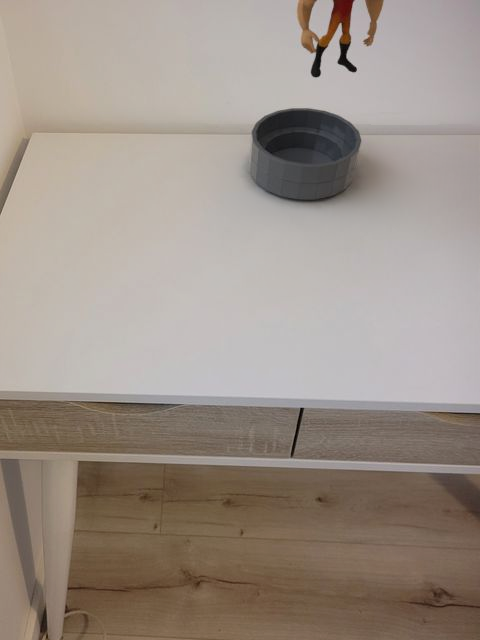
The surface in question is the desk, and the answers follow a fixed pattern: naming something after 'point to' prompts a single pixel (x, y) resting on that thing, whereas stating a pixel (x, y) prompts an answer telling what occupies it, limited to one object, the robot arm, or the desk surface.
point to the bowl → (303, 153)
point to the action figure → (339, 15)
